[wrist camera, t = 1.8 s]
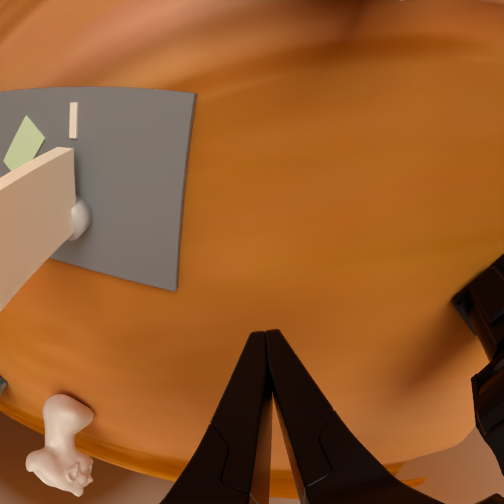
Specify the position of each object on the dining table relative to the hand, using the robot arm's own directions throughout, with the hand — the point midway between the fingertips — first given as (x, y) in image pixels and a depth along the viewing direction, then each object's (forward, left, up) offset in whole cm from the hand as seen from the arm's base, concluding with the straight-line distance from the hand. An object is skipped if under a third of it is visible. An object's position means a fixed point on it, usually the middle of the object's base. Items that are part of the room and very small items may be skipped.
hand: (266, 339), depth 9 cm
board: (+12, +9, -11) cm, 19 cm away
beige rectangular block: (+11, +9, -11) cm, 18 cm away
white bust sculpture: (-1, +43, -12) cm, 45 cm away
